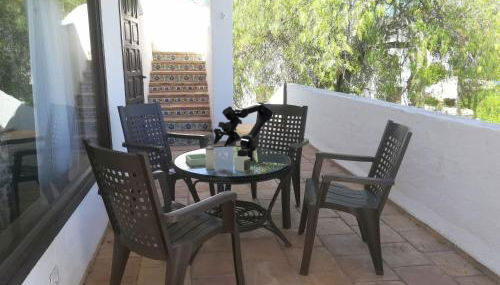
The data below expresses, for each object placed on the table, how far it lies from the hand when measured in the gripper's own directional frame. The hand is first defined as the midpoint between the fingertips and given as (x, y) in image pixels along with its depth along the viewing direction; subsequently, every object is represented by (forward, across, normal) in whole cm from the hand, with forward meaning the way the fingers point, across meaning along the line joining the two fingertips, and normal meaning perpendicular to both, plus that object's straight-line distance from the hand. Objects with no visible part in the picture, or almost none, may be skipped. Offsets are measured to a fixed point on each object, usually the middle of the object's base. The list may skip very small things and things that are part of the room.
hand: (219, 145), depth 236 cm
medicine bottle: (+6, +15, +13) cm, 21 cm away
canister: (+15, 0, +4) cm, 15 cm away
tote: (+13, -15, +6) cm, 21 cm away
